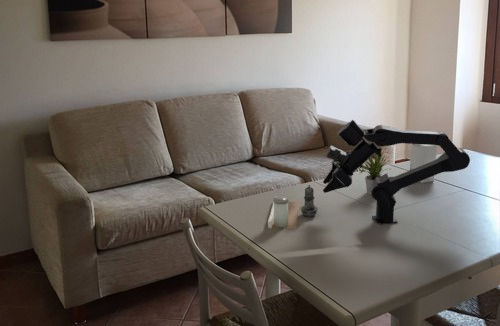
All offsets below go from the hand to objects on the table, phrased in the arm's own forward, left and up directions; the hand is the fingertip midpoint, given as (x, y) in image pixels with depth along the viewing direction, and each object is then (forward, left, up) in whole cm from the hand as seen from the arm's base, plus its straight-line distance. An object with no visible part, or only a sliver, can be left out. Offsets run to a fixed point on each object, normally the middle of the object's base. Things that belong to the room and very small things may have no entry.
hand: (323, 187), depth 181 cm
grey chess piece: (+1, +5, -11) cm, 12 cm away
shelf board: (+4, +12, -11) cm, 17 cm away
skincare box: (+32, -52, -11) cm, 62 cm away
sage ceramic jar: (-5, +16, -10) cm, 19 cm away
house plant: (+22, -27, -11) cm, 37 cm away
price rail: (+5, +16, -11) cm, 20 cm away
